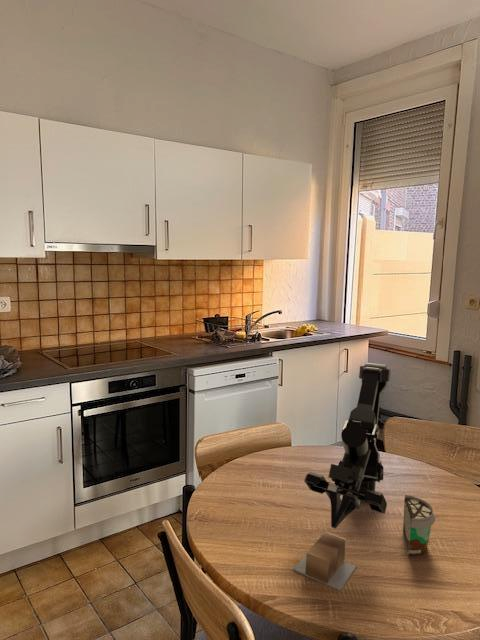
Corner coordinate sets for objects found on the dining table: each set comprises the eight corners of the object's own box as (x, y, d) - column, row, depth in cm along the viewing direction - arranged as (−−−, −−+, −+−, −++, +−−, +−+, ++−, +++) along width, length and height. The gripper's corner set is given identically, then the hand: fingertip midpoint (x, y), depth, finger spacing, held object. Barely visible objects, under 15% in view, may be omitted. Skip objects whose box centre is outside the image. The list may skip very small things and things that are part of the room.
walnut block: (325, 531, 110) (306, 552, 102) (345, 539, 107) (328, 561, 99) (324, 551, 111) (305, 574, 102) (344, 559, 108) (326, 583, 100)
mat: (311, 550, 112) (311, 548, 112) (355, 568, 106) (356, 566, 106) (293, 570, 104) (293, 568, 104) (340, 590, 98) (340, 588, 98)
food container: (437, 564, 108) (440, 523, 107) (409, 560, 109) (412, 519, 108) (427, 533, 120) (430, 496, 119) (401, 530, 121) (404, 493, 120)
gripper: (309, 439, 114) (285, 501, 107) (386, 459, 104) (366, 529, 96) (321, 460, 122) (300, 518, 114) (394, 480, 112) (376, 546, 104)
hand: (333, 527), depth 107 cm, fingers closed
